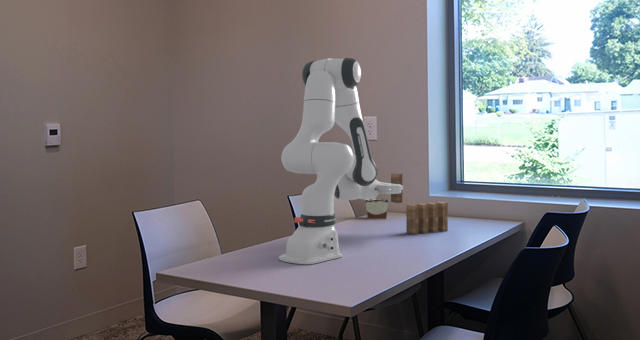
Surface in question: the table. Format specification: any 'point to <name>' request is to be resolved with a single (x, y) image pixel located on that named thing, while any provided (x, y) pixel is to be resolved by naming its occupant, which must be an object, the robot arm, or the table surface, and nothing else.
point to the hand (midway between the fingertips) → (398, 186)
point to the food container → (377, 208)
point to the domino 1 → (396, 179)
